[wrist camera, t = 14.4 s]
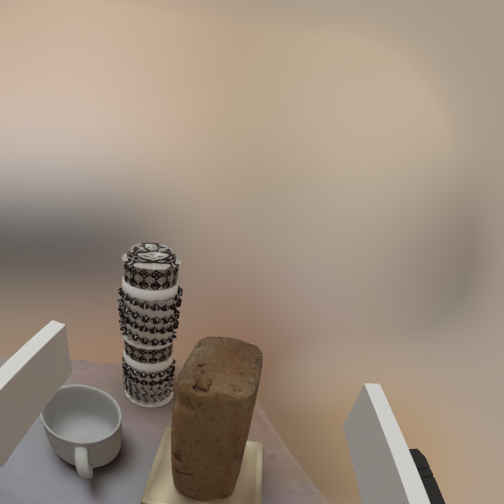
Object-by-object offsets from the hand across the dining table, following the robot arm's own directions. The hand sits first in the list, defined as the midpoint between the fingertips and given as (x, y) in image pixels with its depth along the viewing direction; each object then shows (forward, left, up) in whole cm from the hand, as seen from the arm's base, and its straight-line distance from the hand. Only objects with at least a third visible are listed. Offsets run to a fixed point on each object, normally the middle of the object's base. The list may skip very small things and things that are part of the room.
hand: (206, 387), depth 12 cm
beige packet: (0, +14, -28) cm, 31 cm away
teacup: (-16, +12, -29) cm, 35 cm away
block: (0, +14, -27) cm, 30 cm away
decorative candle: (-12, +29, -29) cm, 42 cm away
